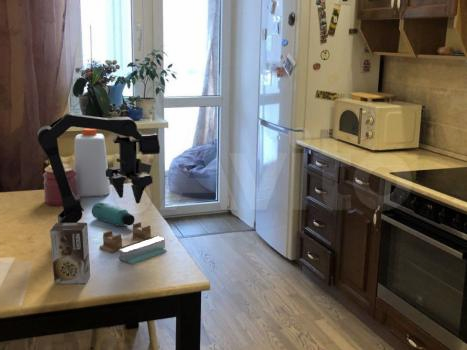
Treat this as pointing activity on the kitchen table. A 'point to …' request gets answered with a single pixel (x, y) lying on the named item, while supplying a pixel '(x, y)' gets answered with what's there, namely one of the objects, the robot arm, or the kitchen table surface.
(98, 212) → the beverage bottle
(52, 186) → the canister
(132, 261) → the mat
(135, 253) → the rail
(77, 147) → the plastic bottle
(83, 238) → the coffee box
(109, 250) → the rack
